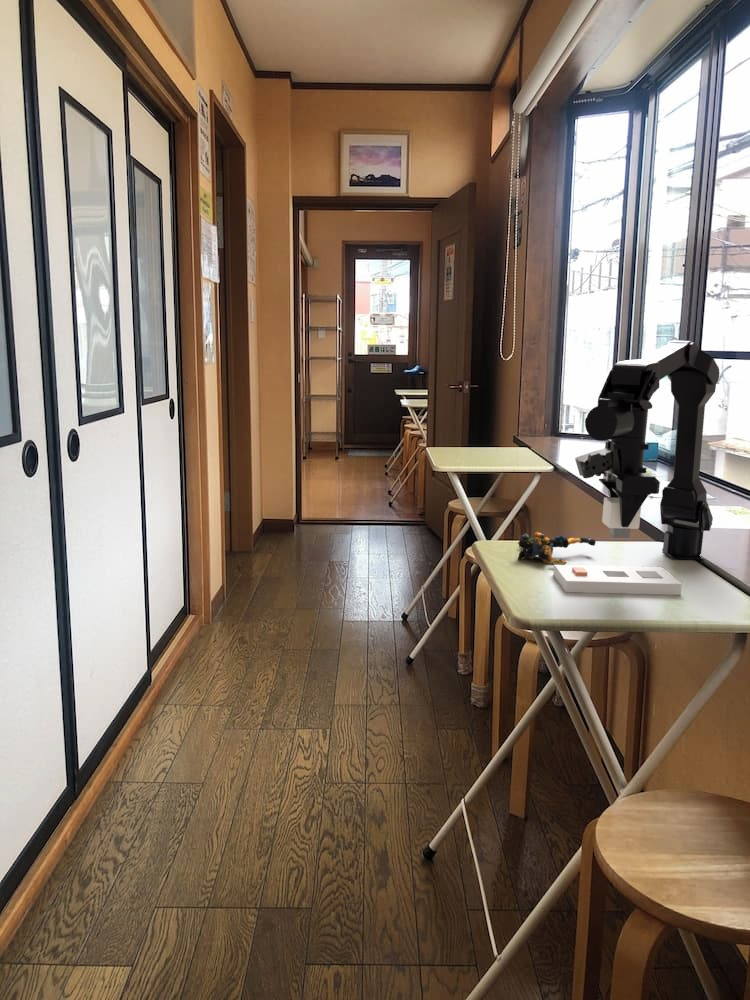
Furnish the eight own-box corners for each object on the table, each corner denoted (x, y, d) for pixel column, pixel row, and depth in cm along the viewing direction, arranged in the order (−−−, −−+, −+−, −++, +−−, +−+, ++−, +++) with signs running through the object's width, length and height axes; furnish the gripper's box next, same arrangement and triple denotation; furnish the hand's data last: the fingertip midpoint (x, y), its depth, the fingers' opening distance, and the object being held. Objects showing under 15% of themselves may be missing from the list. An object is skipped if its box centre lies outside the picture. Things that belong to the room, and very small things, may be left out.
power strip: (660, 577, 151) (662, 564, 151) (680, 594, 141) (682, 580, 141) (553, 575, 151) (554, 561, 150) (565, 592, 141) (566, 577, 141)
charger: (629, 533, 147) (633, 498, 145) (638, 539, 142) (641, 503, 141) (601, 532, 147) (604, 497, 145) (608, 539, 142) (611, 502, 141)
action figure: (595, 555, 167) (587, 573, 153) (522, 546, 172) (508, 563, 158) (597, 528, 166) (589, 544, 152) (524, 520, 171) (510, 535, 157)
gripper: (569, 428, 150) (563, 511, 153) (596, 442, 132) (588, 535, 135) (629, 429, 150) (622, 512, 153) (664, 443, 132) (655, 537, 135)
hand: (620, 523), depth 144 cm, fingers closed on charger, 5 cm apart
